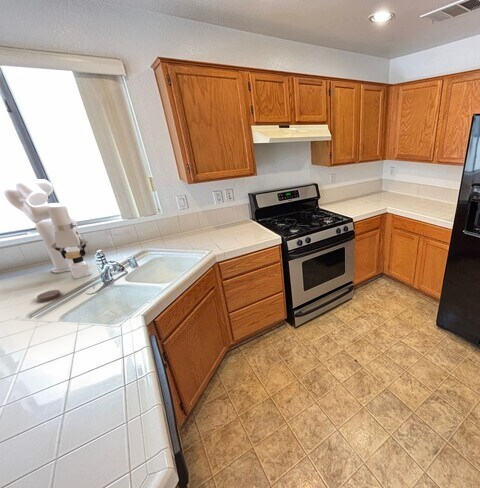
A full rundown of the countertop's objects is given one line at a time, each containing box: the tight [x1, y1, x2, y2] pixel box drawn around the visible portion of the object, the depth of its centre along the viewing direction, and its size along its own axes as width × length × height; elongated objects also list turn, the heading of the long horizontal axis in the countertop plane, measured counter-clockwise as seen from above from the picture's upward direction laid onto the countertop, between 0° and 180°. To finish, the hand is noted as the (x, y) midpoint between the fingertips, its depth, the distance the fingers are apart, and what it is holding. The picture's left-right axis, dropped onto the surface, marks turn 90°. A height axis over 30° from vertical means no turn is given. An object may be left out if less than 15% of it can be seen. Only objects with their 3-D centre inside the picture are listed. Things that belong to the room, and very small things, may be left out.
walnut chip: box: [36, 289, 62, 303], centre depth 132 cm, size 8×8×2 cm
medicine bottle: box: [68, 256, 91, 280], centre depth 153 cm, size 7×7×12 cm
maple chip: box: [65, 249, 81, 259], centre depth 151 cm, size 7×7×3 cm
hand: (74, 256), depth 151 cm, fingers closed on maple chip, 7 cm apart
